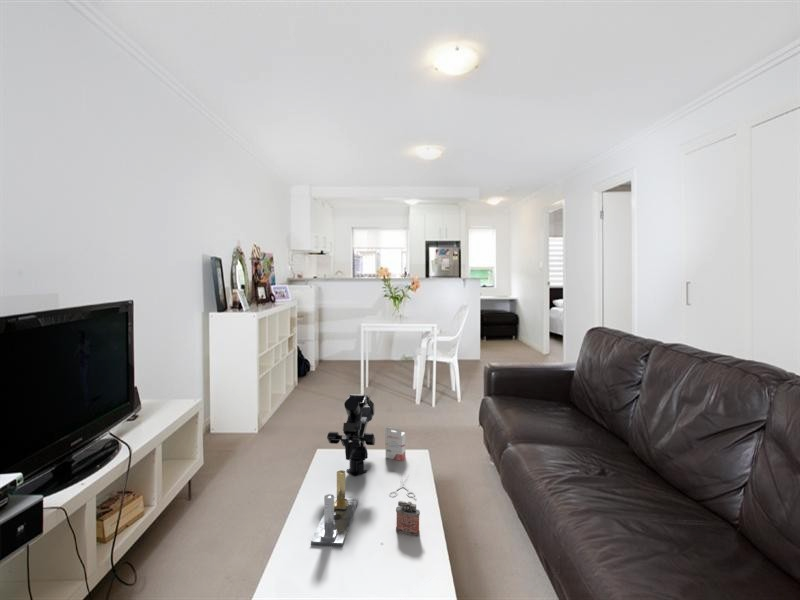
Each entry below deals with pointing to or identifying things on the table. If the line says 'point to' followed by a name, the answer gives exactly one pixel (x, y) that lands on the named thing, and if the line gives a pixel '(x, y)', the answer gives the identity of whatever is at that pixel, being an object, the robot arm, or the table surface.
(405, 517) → the lighter
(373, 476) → the table surface
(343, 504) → the gold tapered block
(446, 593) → the table surface
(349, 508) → the bolt plate
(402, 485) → the scissors
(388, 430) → the ink cartridge box
